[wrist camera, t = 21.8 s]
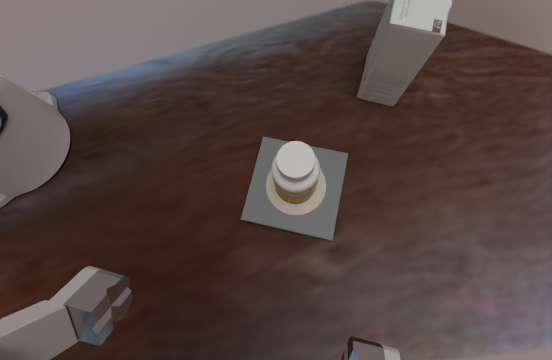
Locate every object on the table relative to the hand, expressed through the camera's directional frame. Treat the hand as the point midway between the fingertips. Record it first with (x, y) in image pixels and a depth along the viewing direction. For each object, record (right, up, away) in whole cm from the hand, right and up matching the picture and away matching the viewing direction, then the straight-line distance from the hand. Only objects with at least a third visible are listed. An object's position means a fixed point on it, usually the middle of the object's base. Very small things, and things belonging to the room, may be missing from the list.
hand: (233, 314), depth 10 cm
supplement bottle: (+4, +4, +28) cm, 29 cm away
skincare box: (+17, +20, +34) cm, 43 cm away
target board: (+4, +4, +30) cm, 30 cm away
